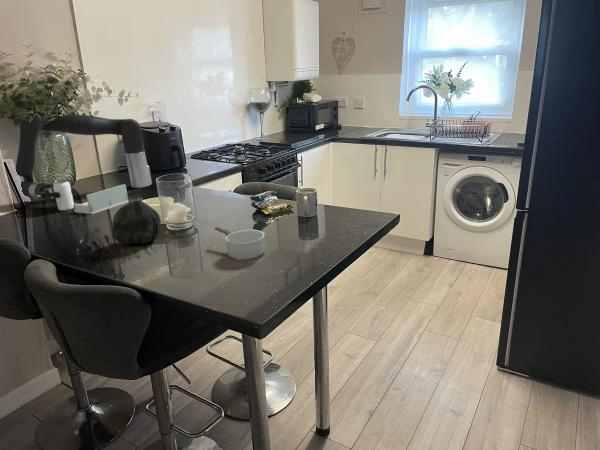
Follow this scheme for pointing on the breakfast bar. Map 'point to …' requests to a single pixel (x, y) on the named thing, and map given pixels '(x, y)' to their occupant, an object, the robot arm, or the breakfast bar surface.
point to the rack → (103, 200)
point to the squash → (136, 223)
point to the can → (64, 195)
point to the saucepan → (244, 243)
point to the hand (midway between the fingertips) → (66, 193)
